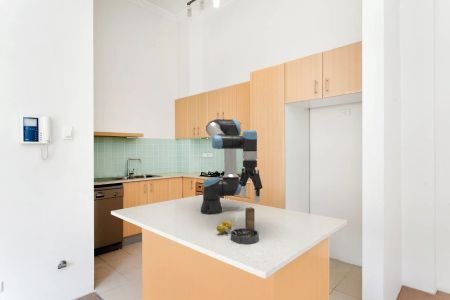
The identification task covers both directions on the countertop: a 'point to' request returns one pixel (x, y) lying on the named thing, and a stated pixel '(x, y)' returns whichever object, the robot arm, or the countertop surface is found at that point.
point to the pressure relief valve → (225, 227)
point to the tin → (245, 236)
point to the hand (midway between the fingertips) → (250, 200)
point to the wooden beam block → (249, 218)
